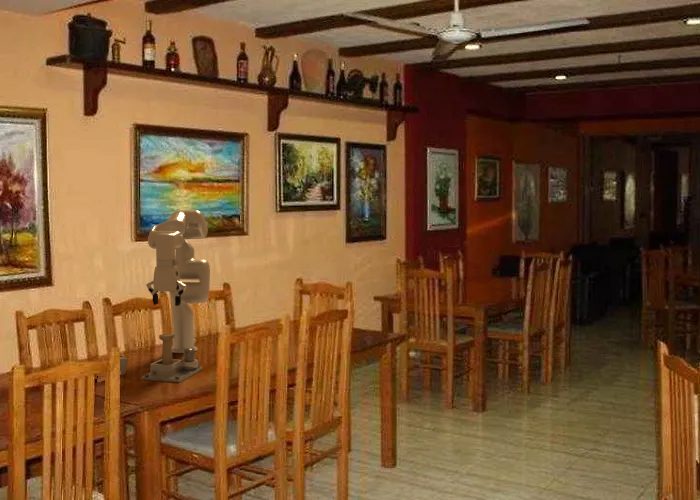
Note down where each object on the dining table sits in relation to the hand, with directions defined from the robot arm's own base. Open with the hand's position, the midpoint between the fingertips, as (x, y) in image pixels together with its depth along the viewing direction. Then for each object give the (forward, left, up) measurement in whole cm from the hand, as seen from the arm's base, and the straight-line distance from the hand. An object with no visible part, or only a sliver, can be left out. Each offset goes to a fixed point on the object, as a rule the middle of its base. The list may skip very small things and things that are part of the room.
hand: (166, 304), depth 323 cm
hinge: (+18, -16, -28) cm, 36 cm away
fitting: (+7, +6, -27) cm, 29 cm away
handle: (+8, +4, -26) cm, 27 cm away
